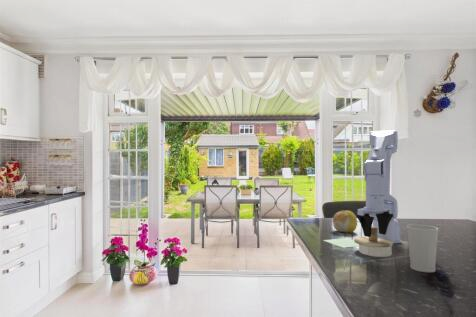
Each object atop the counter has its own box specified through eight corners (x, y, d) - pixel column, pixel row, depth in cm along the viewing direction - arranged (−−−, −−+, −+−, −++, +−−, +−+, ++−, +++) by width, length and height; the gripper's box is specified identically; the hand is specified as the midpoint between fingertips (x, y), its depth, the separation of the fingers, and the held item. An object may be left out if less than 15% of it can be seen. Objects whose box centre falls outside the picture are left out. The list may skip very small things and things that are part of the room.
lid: (369, 237, 116) (369, 223, 116) (400, 244, 105) (400, 228, 106) (346, 241, 110) (346, 226, 110) (376, 249, 100) (376, 232, 100)
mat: (347, 238, 129) (347, 237, 129) (369, 245, 118) (369, 244, 118) (322, 241, 124) (322, 240, 124) (343, 248, 113) (343, 247, 113)
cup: (428, 275, 86) (427, 230, 86) (401, 266, 93) (400, 225, 93) (445, 270, 90) (444, 228, 90) (417, 263, 97) (417, 223, 97)
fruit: (339, 229, 148) (339, 208, 148) (361, 233, 140) (361, 210, 140) (327, 232, 141) (327, 210, 141) (350, 236, 133) (350, 212, 133)
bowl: (375, 248, 113) (375, 238, 114) (398, 256, 104) (398, 245, 104) (353, 251, 110) (353, 241, 110) (374, 259, 101) (374, 248, 101)
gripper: (379, 193, 114) (379, 231, 114) (350, 195, 108) (350, 235, 107) (396, 195, 108) (397, 234, 108) (367, 196, 101) (367, 239, 101)
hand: (375, 235), depth 107 cm, fingers open, 7 cm apart
